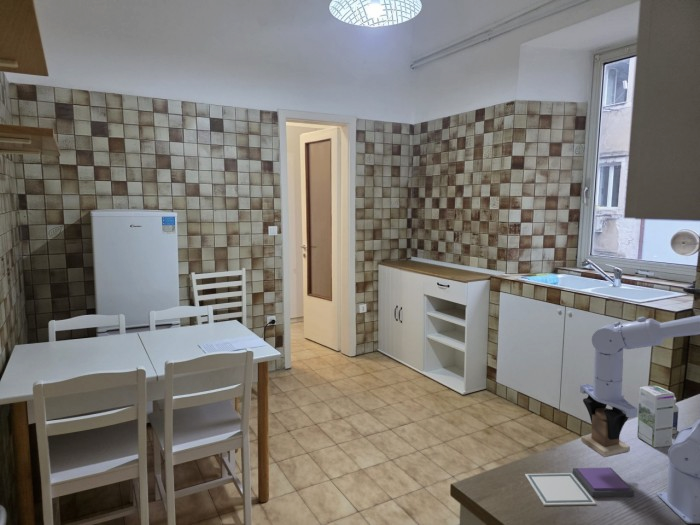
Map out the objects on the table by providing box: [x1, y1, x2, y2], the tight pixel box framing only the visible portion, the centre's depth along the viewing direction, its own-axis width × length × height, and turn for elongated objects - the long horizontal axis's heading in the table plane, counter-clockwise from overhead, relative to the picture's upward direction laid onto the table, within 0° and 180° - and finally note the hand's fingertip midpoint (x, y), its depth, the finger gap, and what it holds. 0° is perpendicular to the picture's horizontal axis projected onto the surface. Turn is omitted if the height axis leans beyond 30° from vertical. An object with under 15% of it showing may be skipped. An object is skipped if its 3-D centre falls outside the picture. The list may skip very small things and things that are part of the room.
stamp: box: [580, 407, 631, 458], centre depth 106 cm, size 7×7×9 cm
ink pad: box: [572, 467, 635, 498], centre depth 104 cm, size 9×9×2 cm
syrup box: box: [636, 384, 675, 448], centre depth 120 cm, size 6×6×14 cm
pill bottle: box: [672, 396, 679, 435], centre depth 127 cm, size 5×5×10 cm
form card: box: [524, 472, 597, 506], centre depth 102 cm, size 11×11×1 cm
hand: (605, 433), depth 106 cm, fingers closed on stamp, 4 cm apart
